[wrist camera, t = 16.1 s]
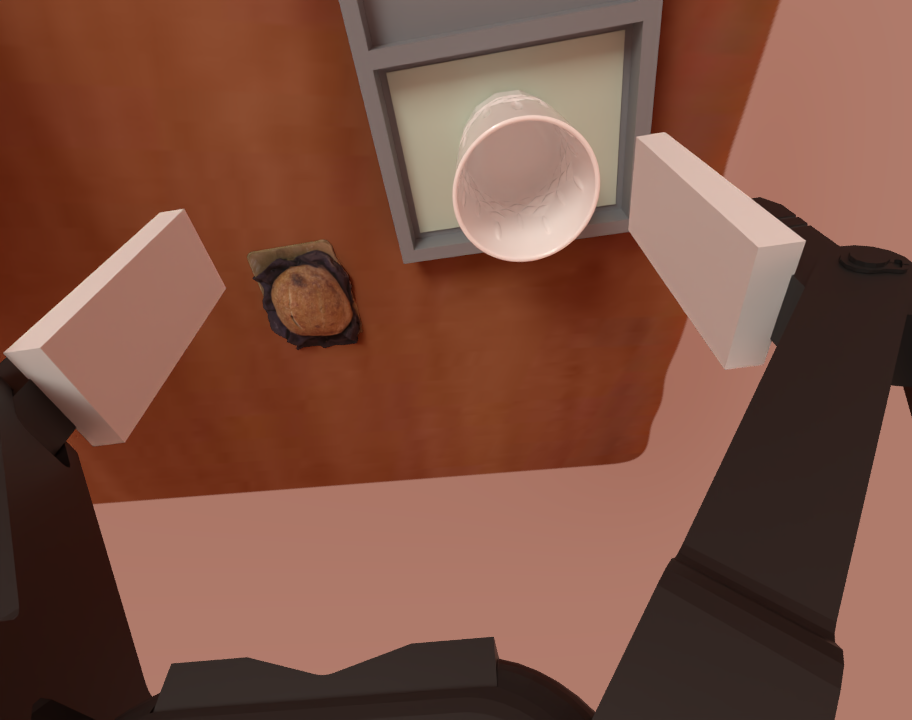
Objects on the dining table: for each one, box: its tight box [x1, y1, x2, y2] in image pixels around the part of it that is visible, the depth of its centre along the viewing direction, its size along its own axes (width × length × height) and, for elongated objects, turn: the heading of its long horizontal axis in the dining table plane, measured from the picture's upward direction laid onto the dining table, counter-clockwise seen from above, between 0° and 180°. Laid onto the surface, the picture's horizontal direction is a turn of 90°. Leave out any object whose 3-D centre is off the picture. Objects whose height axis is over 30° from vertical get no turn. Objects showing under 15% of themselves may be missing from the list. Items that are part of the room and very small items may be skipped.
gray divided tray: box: [339, 0, 663, 264], centre depth 29 cm, size 18×27×3 cm, turn 9°
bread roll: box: [247, 240, 363, 350], centre depth 42 cm, size 11×8×4 cm
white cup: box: [452, 90, 600, 262], centre depth 30 cm, size 8×8×10 cm
